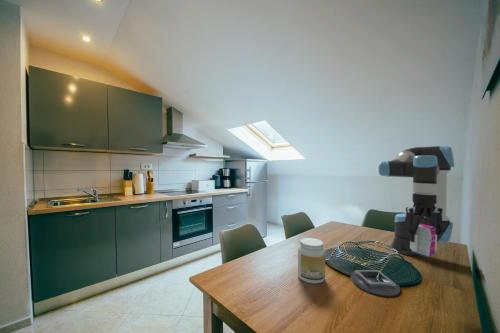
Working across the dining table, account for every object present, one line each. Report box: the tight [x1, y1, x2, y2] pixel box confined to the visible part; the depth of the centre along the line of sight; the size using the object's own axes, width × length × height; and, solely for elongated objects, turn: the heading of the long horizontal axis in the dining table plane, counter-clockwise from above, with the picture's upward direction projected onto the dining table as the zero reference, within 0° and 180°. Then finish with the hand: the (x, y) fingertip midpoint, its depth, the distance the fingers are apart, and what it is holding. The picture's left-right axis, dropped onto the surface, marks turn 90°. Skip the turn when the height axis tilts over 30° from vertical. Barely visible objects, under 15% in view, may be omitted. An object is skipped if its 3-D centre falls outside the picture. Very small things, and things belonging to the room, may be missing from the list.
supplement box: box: [412, 224, 436, 258], centre depth 84 cm, size 6×6×12 cm
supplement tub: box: [297, 237, 326, 284], centre depth 97 cm, size 12×12×17 cm
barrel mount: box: [350, 269, 401, 298], centre depth 93 cm, size 19×19×3 cm
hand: (423, 249), depth 84 cm, fingers closed on supplement box, 7 cm apart
